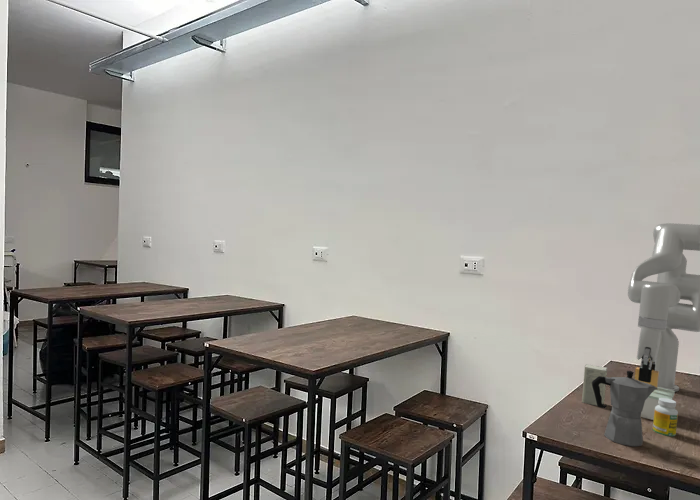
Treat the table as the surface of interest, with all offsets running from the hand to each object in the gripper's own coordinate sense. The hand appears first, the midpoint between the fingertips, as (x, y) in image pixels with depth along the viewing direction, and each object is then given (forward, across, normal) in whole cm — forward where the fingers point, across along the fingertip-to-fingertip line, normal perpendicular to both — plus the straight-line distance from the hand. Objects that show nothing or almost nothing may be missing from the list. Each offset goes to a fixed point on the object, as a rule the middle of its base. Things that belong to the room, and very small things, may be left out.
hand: (646, 378), depth 155 cm
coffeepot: (+10, +32, -2) cm, 34 cm away
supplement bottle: (+10, +19, +7) cm, 23 cm away
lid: (+3, +4, 0) cm, 5 cm away
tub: (+10, +4, 0) cm, 11 cm away
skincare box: (+10, +8, -13) cm, 18 cm away
